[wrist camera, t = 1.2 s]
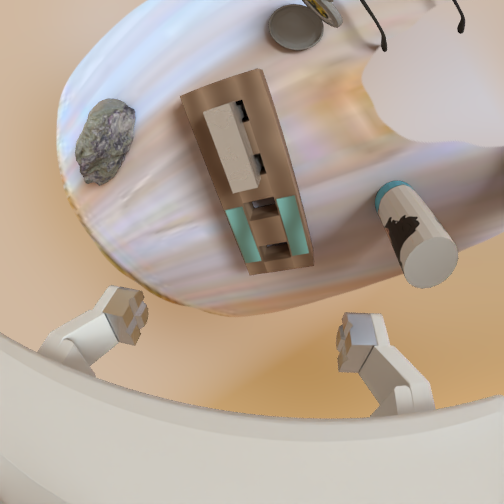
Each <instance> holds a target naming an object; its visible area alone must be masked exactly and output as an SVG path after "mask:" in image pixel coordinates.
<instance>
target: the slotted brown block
mask: <svg viewBox="0 0 504 504" xmlns="http://www.w3.org/2000/svg"><path fill="white" fill-rule="evenodd" d="M180 98H181V101H182V104H183V106H184V109H185V111H186V114H187V117H188V119H189V122H190V124H191V127H192V130H193V132H194V135H195V138H196V140H197V143H198V145H199V148H200V150H201V153H202V156H203V158H204V161H205V163H206V166H207V169H208V171H209V174H210V176H211V179H212V181H213V184H214V186H215V189H216V192H217V194H218V197H219V199H220V202H221V204H222V207H223V209H224V212H225V214H226V217H227V219H228V222H229V225H230V227H231V230H232V232H233V235H234V237H235V240H236V242H237V245H238V247H239V250H240V252H241V255H242V257H243V260H244V262H245V265H246V267H247V270H248V272H249V275H255V274H262V273H269V272H276V271H283V270H289V269H296V268H302V267H309V266H314V259H313V247H312V243H311V238H310V234H309V230H308V226H307V221H306V217H305V213H304V209H303V205H302V201H301V197H300V193H299V190H298V186H297V182H296V178H295V175H294V171H293V167H292V164H291V160H290V156H289V153H288V149H287V146H286V143H285V139H284V136H283V132H282V129H281V126H280V122H279V119H278V116H277V113H276V110H275V106H274V103H273V100H272V97H271V94H270V91H269V88H268V85H267V82H266V79H265V76H264V73H263V70H261V69H255V70H251V71H248V72H245V73H242V74H238V75H235V76H232V77H229V78H226V79H223V80H220V81H218V82H215V83H212V84H209V85H207V86H204V87H201V88H199V89H196V90H194V91H191V92H189V93H186V94H184V95H182V96H180ZM239 100H242V101H243V104H244V106H245V109H246V112H247V115H248V119H245V120H242V122H243V125H244V128H245V131H246V134H247V137H248V140H249V143H250V146H251V149H252V152H253V155H255V154H258V153H260V155H261V158H262V161H263V164H264V166H262V168H261V171H260V176H261V180H260V183H259V186H258V188H254V189H250V190H245V191H241V192H237V193H233V192H232V190H231V187H230V184H229V181H228V179H227V176H226V173H225V171H224V168H223V165H222V163H221V160H220V157H219V155H218V152H217V149H216V146H215V144H214V141H213V138H212V136H211V133H210V130H209V128H208V125H207V122H206V120H205V117H204V114H203V112H204V111H207V110H210V109H212V108H215V107H218V106H221V105H224V104H227V103H230V102H233V101H235V102H236V101H239ZM270 197H274V199H275V203H276V204H272V205H267V206H263V207H258V208H254V207H253V204H252V201H256V200H260V199H265V198H270ZM282 242H287V243H286V244H280V245H274V246H269V247H267V245H270V244H276V243H282Z"/></svg>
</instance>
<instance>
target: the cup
mask: <svg viewBox="0 0 504 504" xmlns="http://www.w3.org/2000/svg"><path fill="white" fill-rule="evenodd" d="M375 207H376V211H377V213H378V215H379V217H380V219H381V222H382V224H383V226H384V228H385V230H386V232H387V235H388V237H389V239H390V242H391V244H392V246H393V249H394V251H395V253H396V256H397V258H398V261H399V263H400V266H401V268H402V271H403V273H404V276H405V278H406V280H407V281H408V282H409V284H411V285H412V286H414V287H417V288H431V287H433V286H436V285H438V284H440V283H441V282H443V281H444V280H446V279H447V278H448V277H449V276H450V275H451V274H452V272H453V270H454V269H455V267H456V265H457V261H458V250H457V247H456V245H455V243H454V242H453V240H452V239H451V237H450V236H449V235H448V233H447V232H446V230H445V229H444V228H443V226H442V225H441V224H440V222H439V221H438V220H437V218H436V217H435V216H434V214H433V213H432V212H431V210H430V209H429V208H428V207H427V205H426V204H425V203H424V202H423V200H422V199H421V198H420V197H419V195H418V194H417V193H416V192H415V191H414V189H413V188H412V187H411V186H410V185H408V184H407V183H405V182H402V181H392V182H389V183H387V184H385V185H384V186H383V187H381V189H380V190H379V191H378V193H377V196H376V198H375Z"/></svg>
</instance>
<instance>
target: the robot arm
mask: <svg viewBox="0 0 504 504" xmlns="http://www.w3.org/2000/svg"><path fill="white" fill-rule="evenodd" d="M143 299H144V295H143V292H142V291H139V290H134V289H129V288H124V287H118V286H113V285H111V286H109V287H108V288H107V289H106V291H105V292H104V294H103V295H102V296H101V298H100V299H99V301H98V302H97V304H96V305H95V307H94V308H93V310H88V311H86V312H85V313H83V314H81V315H79V316H78V317H76V318H74V319H72V320H71V321H69V322H67V323H65V324H64V325H62V326H60V327H58V328H57V329H55V330H53V331H52V332H50V334H49V335H48V337H47V338H46V340H45V341H44V343H43V344H42V346H41V347H40V349H39V350H38V352H35V351H33V350H31V349H29V348H27V347H25V346H23V345H22V344H20V343H18V342H16V341H14V340H12V339H10V338H9V337H7V336H5V335H4V334H2V333H0V504H504V396H502V395H495V396H491V397H487V398H485V399H480V400H477V401H473V402H469V403H464V404H460V405H456V406H451V407H446V408H441V409H435V404H434V400H433V395H432V391H431V387H430V383H429V382H428V381H427V379H426V378H425V377H424V376H423V375H422V374H421V373H420V372H419V371H418V370H417V369H416V368H415V367H414V366H413V365H412V364H411V363H410V362H409V361H408V360H407V359H406V358H405V357H404V356H403V355H402V354H401V353H400V352H399V351H398V350H397V349H396V348H395V347H394V346H390V342H389V338H388V334H387V331H386V327H385V323H384V319H383V316H382V315H381V314H374V313H369V314H368V313H347V312H346V313H345V314H344V315H343V318H342V323H343V324H342V325H341V326H340V327H339V329H338V332H337V338H336V339H337V340H336V346H337V350H338V351H339V352H340V354H339V356H338V370H339V372H354V373H355V372H356V373H359V375H360V377H361V378H362V380H363V381H364V382H365V384H366V385H367V387H368V388H369V390H370V391H371V392H372V394H373V395H374V397H375V398H376V400H377V401H378V403H379V404H380V406H379V407H378V408H377V409H376V410H375V411H374V412H373V413H372V415H371V416H370V417H367V418H343V419H314V418H313V419H312V418H289V417H275V416H264V415H255V414H246V413H238V412H231V411H224V410H218V409H212V408H207V407H201V406H196V405H191V404H186V403H182V402H177V401H173V400H168V399H164V398H160V397H157V396H153V395H149V394H145V393H142V392H138V391H135V390H131V389H128V388H125V387H122V386H119V385H116V384H113V383H109V382H107V381H104V380H101V379H98V378H96V376H95V373H94V372H93V370H92V369H91V368H90V366H91V365H92V364H93V363H94V362H95V361H97V360H98V359H99V358H101V357H102V356H103V355H104V354H105V353H107V352H108V351H109V350H110V349H112V348H113V347H114V346H115V345H116V344H118V342H121V343H125V344H130V345H136V343H137V341H138V339H139V337H140V335H141V333H140V329H141V328H142V327H144V326H145V324H146V322H147V319H148V308H147V305H146V304H145V303H144V302H143Z"/></svg>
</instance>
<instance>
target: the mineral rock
mask: <svg viewBox="0 0 504 504" xmlns="http://www.w3.org/2000/svg"><path fill="white" fill-rule="evenodd" d="M134 123H135V111H134V109H132V108H130V107H128V106H127V105H126V104H125V103H124V102H122V101H120V100H117V99H105V100H102V101H100V102H99V103H98V104H97V105H96V106H95V107H94V108H93V109H92V110H91V111H90V113H89V115H88V119H87V122H86V123H85V125H84V128H83V131H82V133H81V135H80V136H79V138H78V140H77V143H76V150H75V155H76V161H77V162H78V164H79V165H80V173H81V174H82V175H83V177H84V180H85V183H87V184H89V183H93V182H95V183H97V184H98V185H99V186H100V185H102V184H104V183H106V182H108V181H109V180H110V179H111V178H113V177H114V176H115V175H116V172H117V170H118V169H119V167H120V166H121V163H122V162H123V161H124V160H125V154H126V153H127V152H128V151H129V150H130V144H131V142H132V141H133V128H134Z"/></svg>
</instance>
